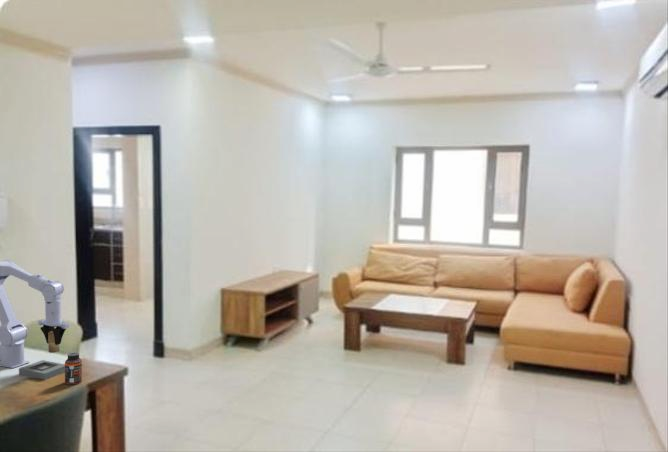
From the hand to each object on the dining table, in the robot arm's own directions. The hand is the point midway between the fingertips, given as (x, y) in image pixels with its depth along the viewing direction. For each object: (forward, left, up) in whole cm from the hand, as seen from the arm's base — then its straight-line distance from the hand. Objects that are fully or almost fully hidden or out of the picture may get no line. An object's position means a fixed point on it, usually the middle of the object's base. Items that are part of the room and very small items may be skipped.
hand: (53, 343), depth 221 cm
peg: (0, 0, -3) cm, 3 cm away
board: (+1, -6, -10) cm, 12 cm away
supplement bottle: (+20, -9, -10) cm, 24 cm away
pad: (+1, -6, -9) cm, 11 cm away
